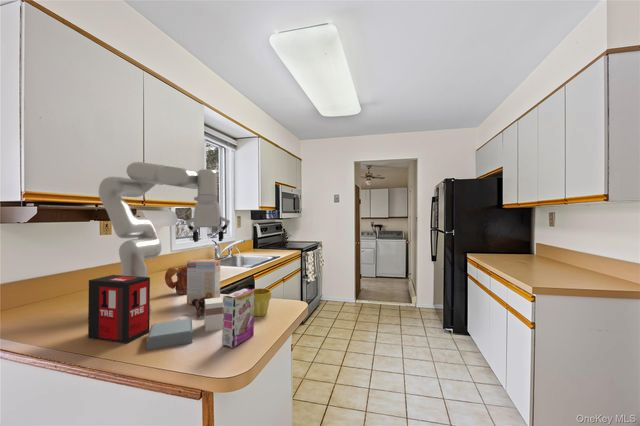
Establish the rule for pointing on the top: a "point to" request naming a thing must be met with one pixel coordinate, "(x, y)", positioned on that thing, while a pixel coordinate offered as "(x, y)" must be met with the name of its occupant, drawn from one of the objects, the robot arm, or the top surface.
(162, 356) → the top surface
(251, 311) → the candy bar box
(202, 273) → the cracker box
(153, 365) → the top surface
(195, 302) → the brown clay jug
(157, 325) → the display podium
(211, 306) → the cream carton
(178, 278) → the mug
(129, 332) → the cleaning product box
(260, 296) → the plant pot
